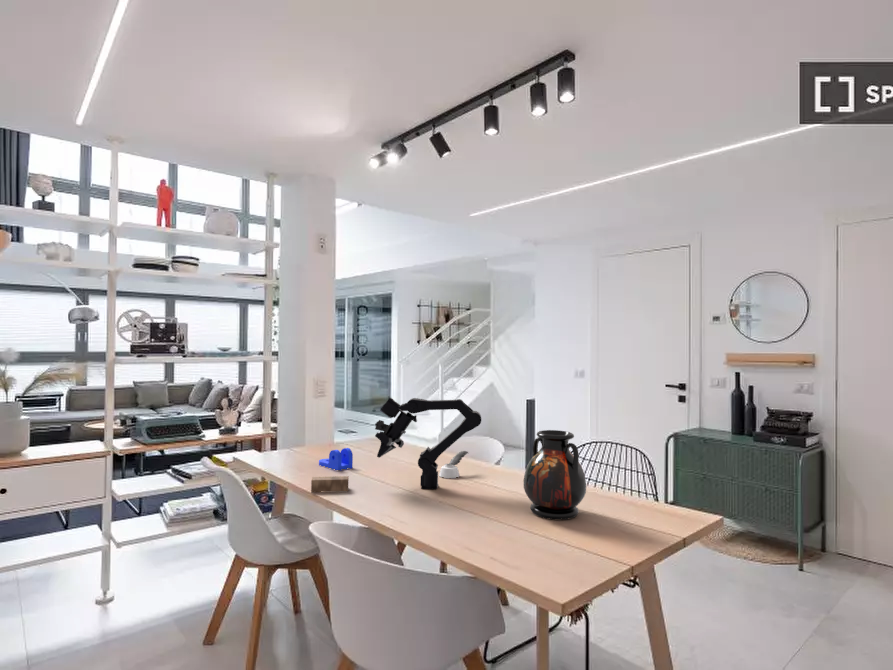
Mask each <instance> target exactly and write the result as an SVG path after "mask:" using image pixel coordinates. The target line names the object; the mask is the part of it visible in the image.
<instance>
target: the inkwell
mask: <svg viewBox="0 0 893 670" xmlns="http://www.w3.org/2000/svg"><path fill="white" fill-rule="evenodd" d="M467 454H469V451H468V450H467V451H466V450H461V451H459V452H457V453H456V454H455V455H454V456H453V457H452V459H450V461H449V463H445V464H443V465H442V466H441V467H440V470H439V472H438V477H439V478H442V477H444V478H443V479H449V478H451V479H457V478H456V477H458V478H459V477H460V472H459V469H458V468H459V467H458V466H456V465H459V463H461V461H462V459H463V458H464V457H466V455H467Z"/></svg>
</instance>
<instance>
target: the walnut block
mask: <svg viewBox="0 0 893 670" xmlns="http://www.w3.org/2000/svg"><path fill="white" fill-rule="evenodd" d="M310 484H311V486H310V493H322V492H321V491H348V492H349V476H347V475H346V476H345V475H343V476H341V475H340V476H338V475H337V476H312V478H311V482H310Z"/></svg>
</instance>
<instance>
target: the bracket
mask: <svg viewBox="0 0 893 670" xmlns="http://www.w3.org/2000/svg"><path fill="white" fill-rule="evenodd" d="M353 455H354V454H353V451H352V450H351V448H349V447H345V448H342V449H341V450H339V449H331V450H330V451H329V455H328V458H322V459H319V460H318V466H320V465H321V466H320V467H323V466H325V467H324V468H326V467H328V468H327V469H329V468H332V469H331V470H333V469H335V470H334V471H336V470H340V471H342V470H341V469H345V470H348V469H347V468H350V469H353V462H354V461H353V460H354V459H353V458H354V457H353Z"/></svg>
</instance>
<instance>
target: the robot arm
mask: <svg viewBox="0 0 893 670" xmlns="http://www.w3.org/2000/svg"><path fill="white" fill-rule="evenodd" d="M441 410H443V411H444V410H456V411H458V412H459V413H460V414H461V415H462V416H463V417H464V419H463V420H462V421H461V422H460V424H459V425H458V426H457V427H456V428H455V429H454V430H452V431H451V432H450V433H449V434H448V435H447V436H445V437H444V438H443V439H442V440H441V441H439V443H437V444H436V445H435V446H433V447H432V448H430V447H429V446H427V447H426V448H425V450H423V451H421V452H420V454H419V458H418V460H417V465H418V467H419V468H420V469H421V475H420V483H419V484H420V490H423V489H424V490H438V487H439V486H440V485H439V470H438V467H439V464H438V463H437V462H436V461H437V459H438V458H439V457H440V456H441V455H442V454H443V453H444V452H445V451H446V450H448V449H449V448H450V447H451V446H452V445H453V444H454V443H456V442H457V441H458V440H459V439H460V438H461V437H462V436H464V435H465V434H467V433H468V432H471V431H472V430H474V429H476V428H477V427H479V426H480V424H482V415H481V413H480V412H479V411H477V410H473V409H472V408H471V407H470V406H468V405H467V404H466V402H464V401H463V399H460V398H458V399H439V400H438V399H435V400H432V399H431V400H428V399H423V398H418V397H417V398H416V397H414V398H413V397H412V398H410V399H409V400H408V401H407V402H405V403H402V404H400V403H399V402H397V401H395V400H394V399H393V398H392V397H389V398H388V399H387V401H386V402H385V403H384V404H383V405H382V406H381V408H380V412H382V414H385V416H387V417H389V419H392V418H393V419H394V418H395V420H394V421H393V422H390V423H389V424H386V423H385V421H384V420H380V419H378V421H376V423H374V426H375V427H374V430H376V431H377V430H378V431H377V432H376V433H375V435H374V437H375V438H376V439H378V440H379V441H380V445H379V449H378V452H377V455H376V457H377V458H378V459H379V458H382V457H383V456H384V455H386V454H388V453H389V452H391V451H393V450H394V449H396V448H397V447H396V446H395V444H396V445H397V446H398V448H401V449H402V448H403V446H404V445H405V442H404V440H403V439H402V438H401V437H402V436H403V435H405V434H406V433H407V431H406V430H407V428H408V427H409V426H410V424H411V422H414V423H417V422H418V419H417V417H418V415H416V414H417V413H423V412H426V411H427V412H428V411H441ZM413 414H415V415H413Z"/></svg>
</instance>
